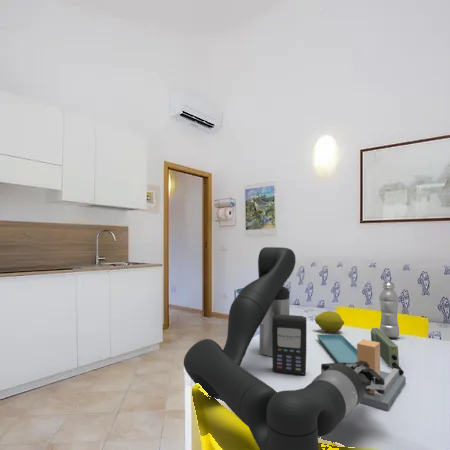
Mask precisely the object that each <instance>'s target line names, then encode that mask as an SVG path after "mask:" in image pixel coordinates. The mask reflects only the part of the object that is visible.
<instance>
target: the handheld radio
mask: <svg viewBox="0 0 450 450" xmlns="http://www.w3.org/2000/svg"><path fill="white" fill-rule="evenodd" d="M370 341H374V342H380V358H381V357H382V358H381V359H382V360H383V362H384V363H385V364H386V365H387V366H388V367H389V368H391V369H393V368H395V369H399V375H400V376H403V375H404V373H405V372H404V370H403V369H402V368H401V367H400V359H399V358H400V357H399V346H398V345H397V344H396V342H394V341H393V340H391V338H388V337H387V336H386V335H385V334H384V333H383V332H382V331H381V330H380V328H378V327H372V328H371V330H370Z"/></svg>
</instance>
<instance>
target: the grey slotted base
mask: <svg viewBox="0 0 450 450" xmlns="http://www.w3.org/2000/svg"><path fill="white" fill-rule="evenodd" d="M380 376H381V377H382V378H383V379H384V380H385V393H384V394H380V393H378V392H377V391H375V392H374V395H373V394H370V393H366V394H364V397H363V399H362V400H361V402H360V403H359V404H363V405H367V406H371V407H373V408H377V409H380V410H383V411H386V412H388V411H389V410H390V408H391V407H392V406H393V404H394V402H395V401H396V399H397V397H398V396H399V394H400V392H401V391H402V389H403V388H404V386H405V385H406V384H407V383H406V382H407V381H406V380H407V379H406V378H407V377H406V376H403V375H400V374H399V369H395V368H392V370H391V371H390V372H387V371H382V370H380Z"/></svg>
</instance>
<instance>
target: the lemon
mask: <svg viewBox="0 0 450 450" xmlns="http://www.w3.org/2000/svg"><path fill="white" fill-rule="evenodd" d="M314 319H315V324H317V326H319V328H320V329H321V330H323V331H325V332H328V333H336V332H337V333H338V332H339V331H341V329H342V327H343V326H344V324H345V321H344V320H343V318H342V316H341V315H340V314H339V313H338V312H335V311H333V310H331V311H323V312H320V314H317V315H316V316H315V317H314Z"/></svg>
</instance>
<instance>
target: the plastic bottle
mask: <svg viewBox="0 0 450 450" xmlns="http://www.w3.org/2000/svg"><path fill="white" fill-rule="evenodd" d="M382 285H383V286H382V288H383V289H382V291H380V293H379V295H378V297H379V298H378V299H379V305H380V312H381V314H380V324H379V329H380V330H381V331H382V332H383V333H384V334H385V335H386V336H387V337H388V338H389V339H396V338H398V337H399V336H400V326H399V321H398V306H399V299H400V298H399V296H398V294H397V292H396V291H395V289H396V287H395V282H383V284H382Z"/></svg>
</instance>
